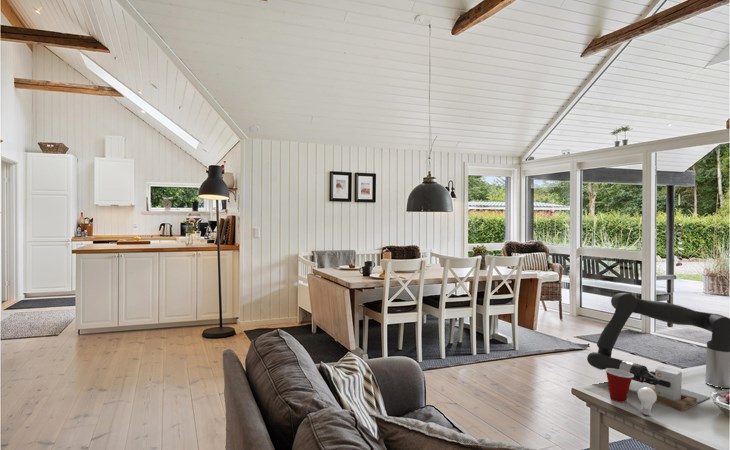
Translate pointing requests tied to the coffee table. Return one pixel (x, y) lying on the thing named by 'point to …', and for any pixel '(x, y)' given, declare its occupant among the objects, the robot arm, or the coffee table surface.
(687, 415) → the coffee table surface
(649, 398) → the lightbulb
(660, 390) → the small box
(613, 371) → the plastic cup
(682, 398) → the holder
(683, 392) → the mat
